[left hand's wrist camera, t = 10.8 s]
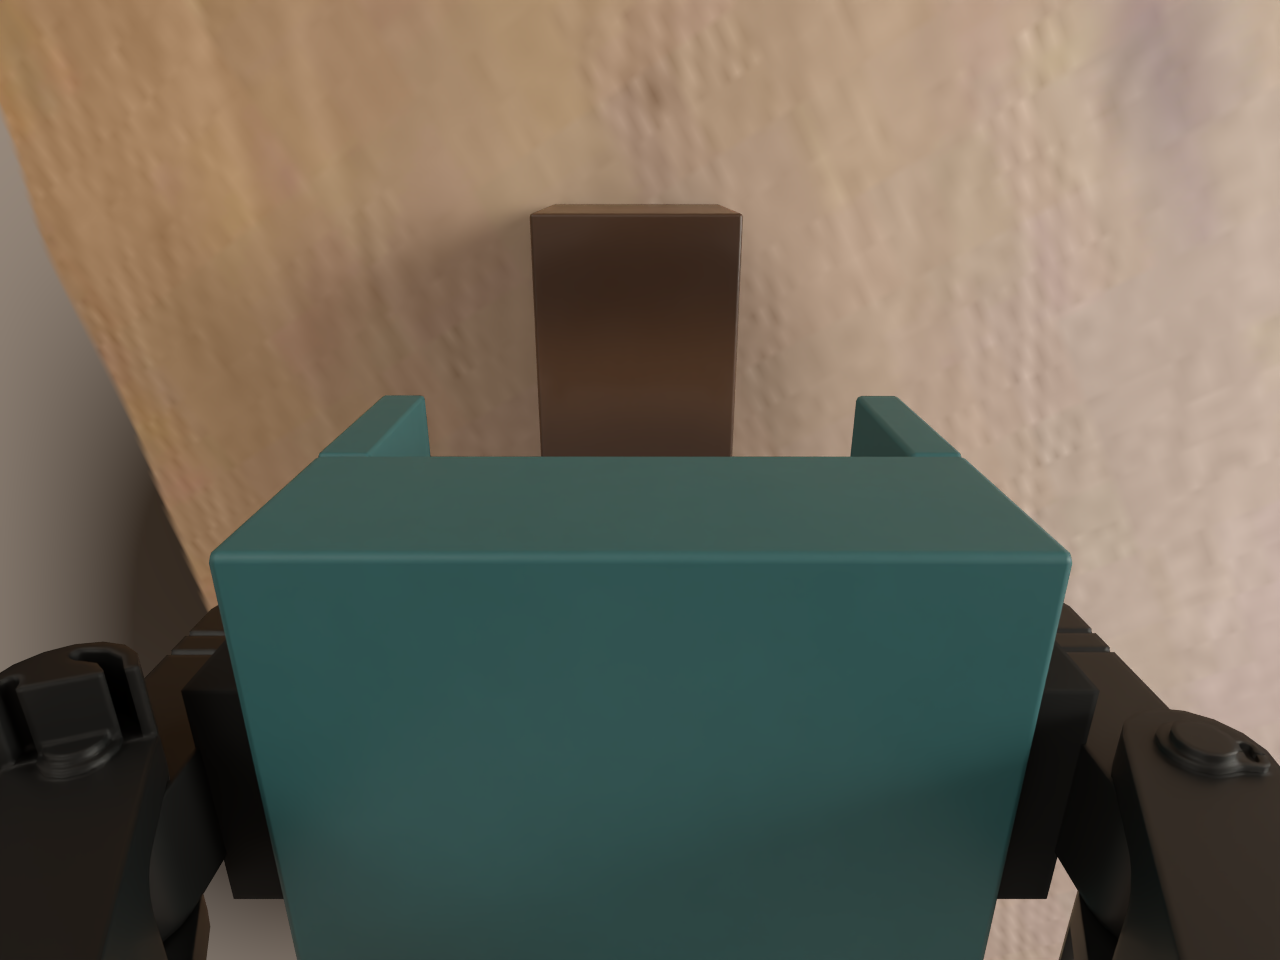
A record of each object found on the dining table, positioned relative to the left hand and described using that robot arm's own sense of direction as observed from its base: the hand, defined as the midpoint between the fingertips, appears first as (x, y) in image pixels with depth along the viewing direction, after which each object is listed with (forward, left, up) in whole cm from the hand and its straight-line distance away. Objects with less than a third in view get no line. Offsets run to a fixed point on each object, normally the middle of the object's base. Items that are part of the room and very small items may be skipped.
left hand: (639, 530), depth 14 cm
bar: (+8, 0, -15) cm, 17 cm away
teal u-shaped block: (0, 0, +2) cm, 2 cm away
